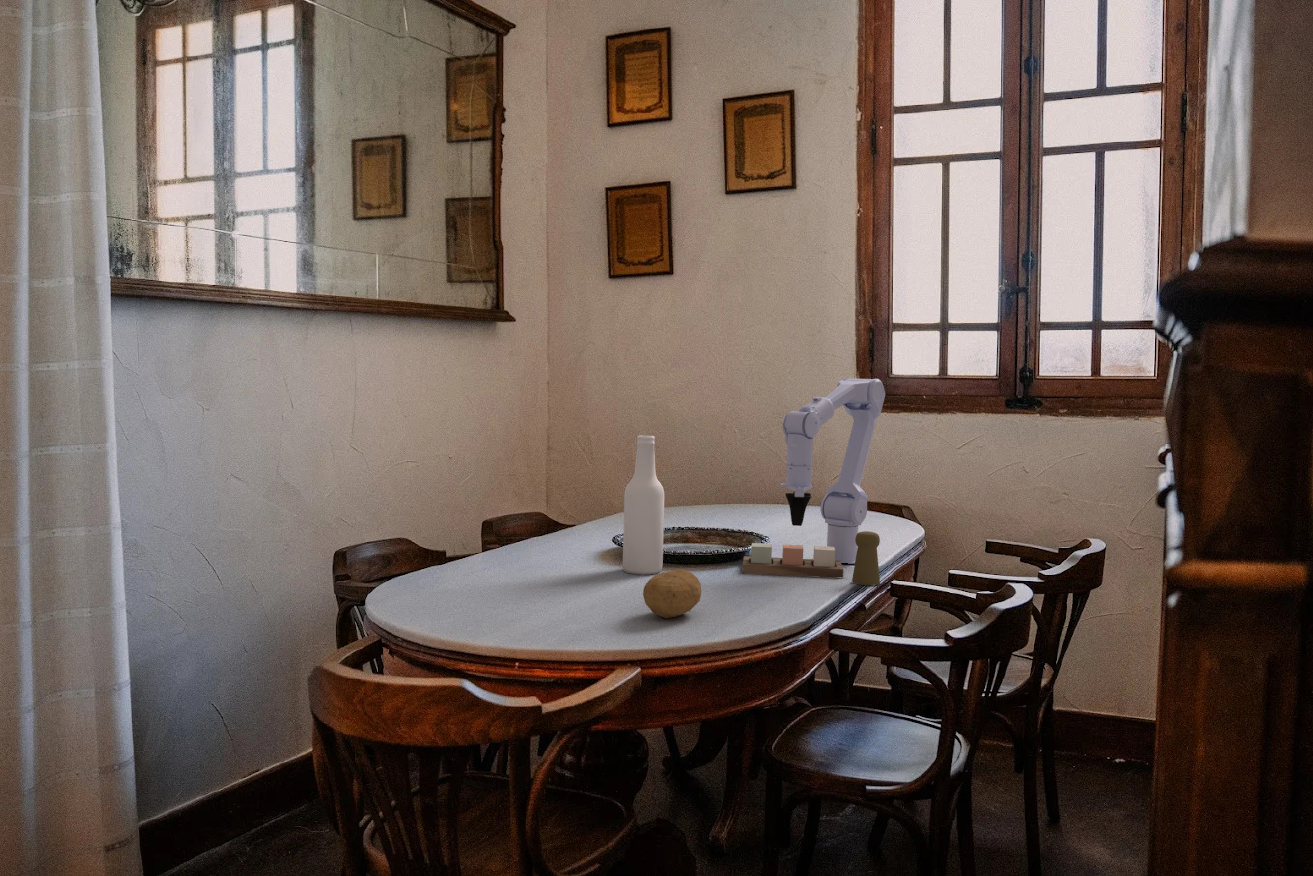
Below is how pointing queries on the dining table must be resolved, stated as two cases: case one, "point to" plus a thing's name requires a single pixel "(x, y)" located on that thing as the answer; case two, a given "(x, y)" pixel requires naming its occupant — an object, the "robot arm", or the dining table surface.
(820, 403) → the robot arm
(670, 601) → the potato
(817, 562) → the cream button
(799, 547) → the terracotta button
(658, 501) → the alcohol
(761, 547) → the sage button
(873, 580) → the cork
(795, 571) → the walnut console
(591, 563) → the dining table surface
